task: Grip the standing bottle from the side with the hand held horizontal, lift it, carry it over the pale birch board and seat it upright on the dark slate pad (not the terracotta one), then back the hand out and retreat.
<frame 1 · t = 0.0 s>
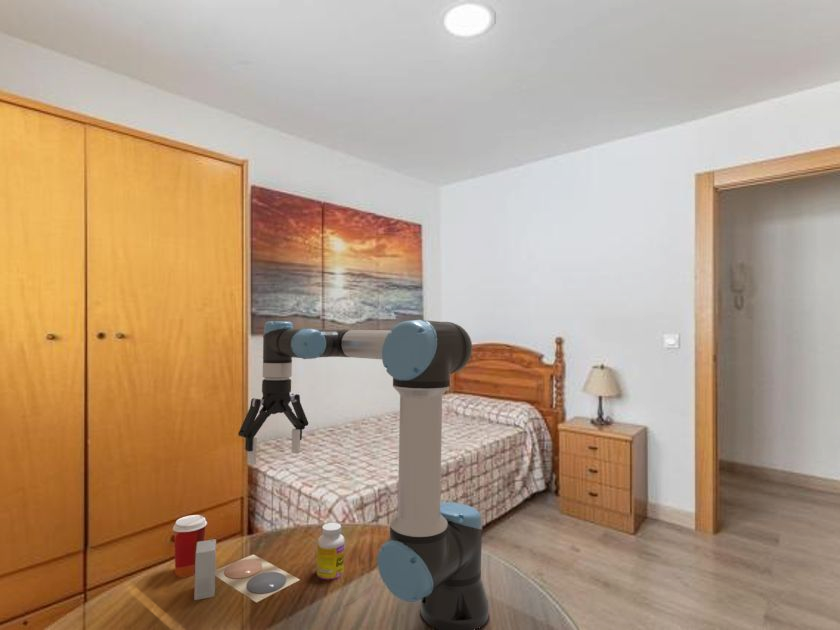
hand: (274, 458, 121), 28 cm above the table, tool pointing down, fingers open, 13 cm apart
birch board: (254, 582, 111), on the table
paper cup: (187, 577, 113), on the table
terracotta pad: (243, 569, 115), resting on birch board
skincare box: (204, 599, 104), on the table
slate pad: (266, 583, 108), resting on birch board
supplement bottle: (330, 579, 114), on the table
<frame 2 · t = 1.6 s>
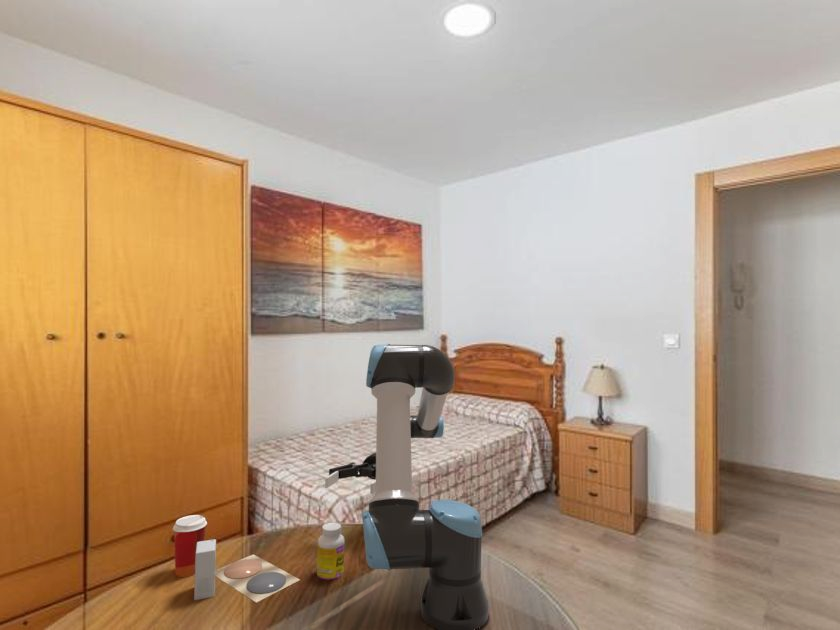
hand: (348, 485, 124), 20 cm above the table, tool horizontal, fingers open, 13 cm apart
nothing on the table moved.
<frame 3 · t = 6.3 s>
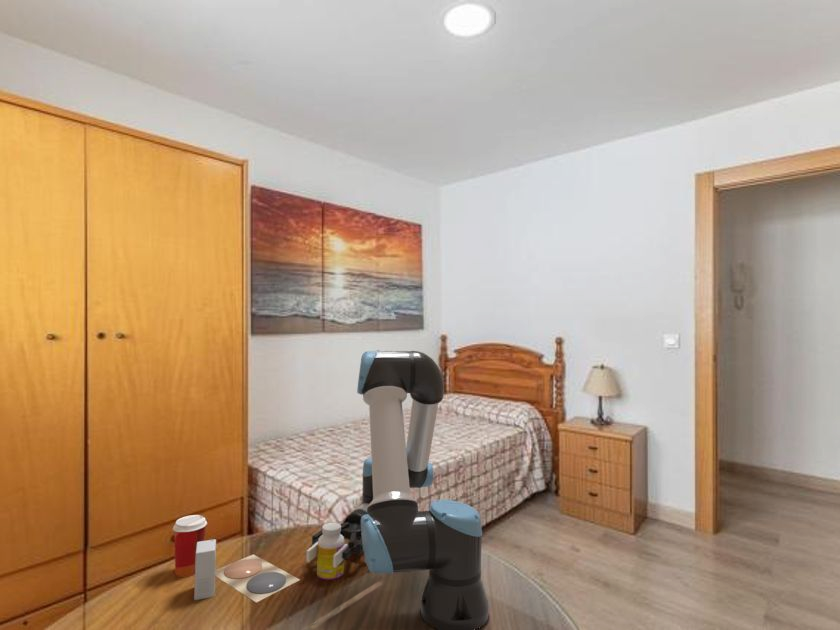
hand: (321, 559, 109), 7 cm above the table, tool horizontal, fingers closed on supplement bottle, 7 cm apart
supplement bottle: (330, 579, 114), on the table, touching gripper
everything else where it was.
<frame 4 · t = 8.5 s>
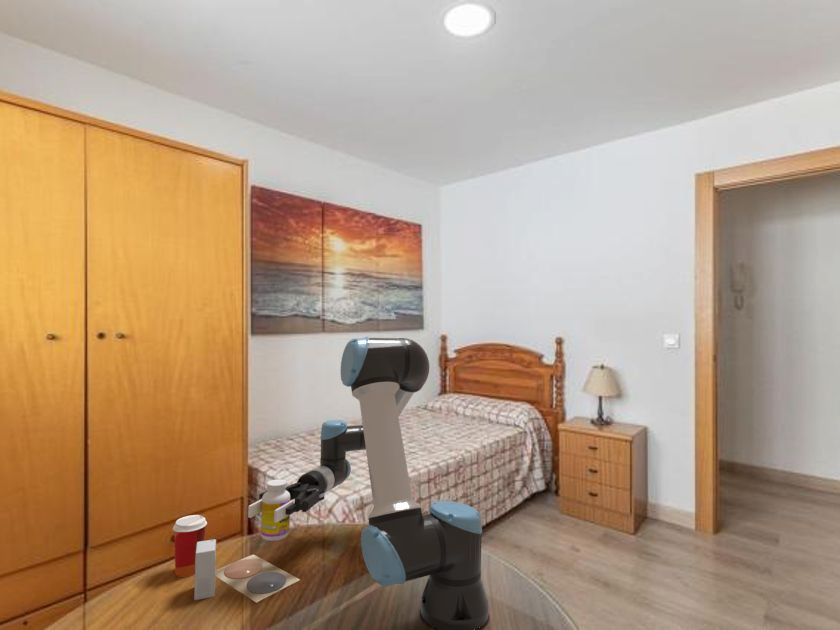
hand: (262, 514, 106), 19 cm above the table, tool horizontal, fingers closed on supplement bottle, 7 cm apart
supplement bottle: (275, 536, 110), point 12 cm above the table, touching gripper
everything else where it was.
when the fingers open (10 cm above the table, at t = 10.7 s): supplement bottle drops 1 cm, resting on slate pad.
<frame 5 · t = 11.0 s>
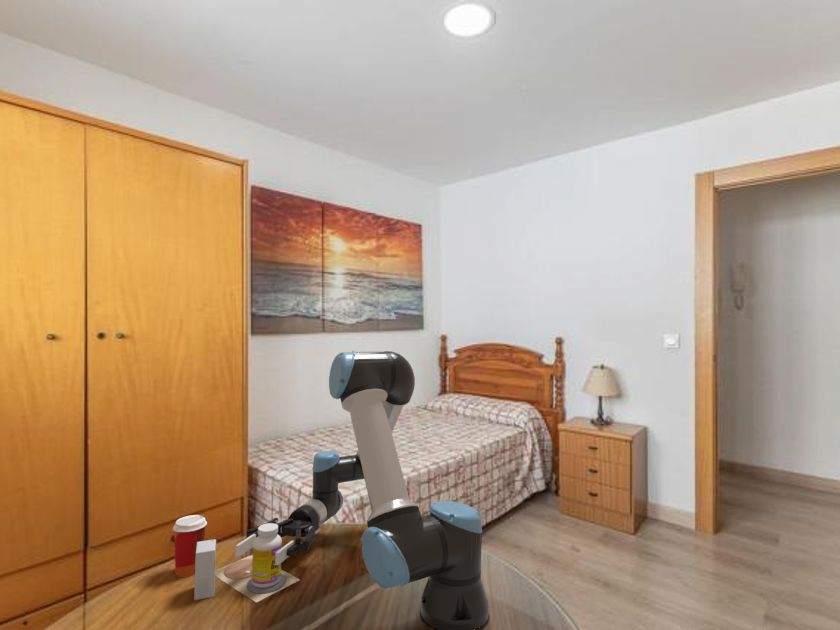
hand: (256, 555, 105), 10 cm above the table, tool horizontal, fingers open, 10 cm apart
supplement bottle: (266, 582, 109), point 2 cm above the table, touching slate pad
everything else where it was.
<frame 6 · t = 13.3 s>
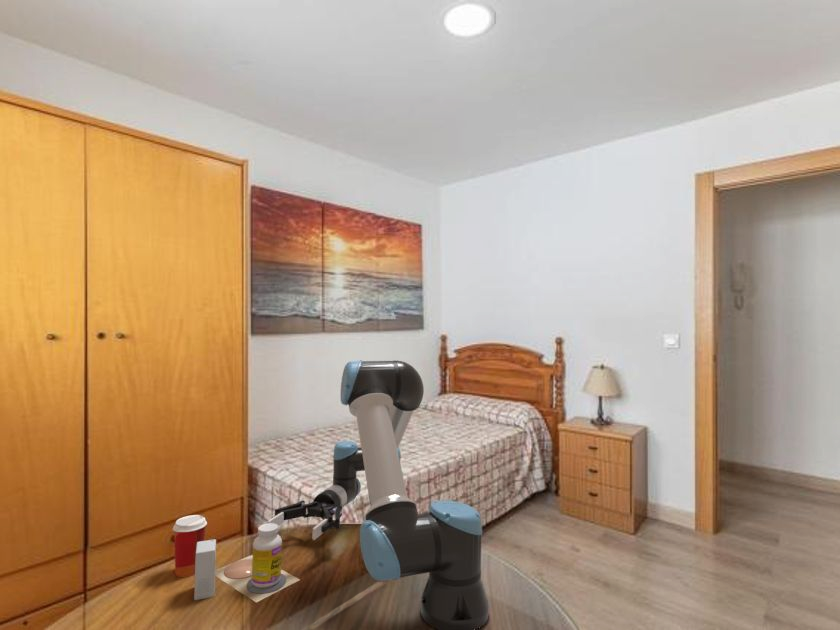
hand: (290, 530, 118), 10 cm above the table, tool horizontal, fingers open, 13 cm apart
nothing on the table moved.
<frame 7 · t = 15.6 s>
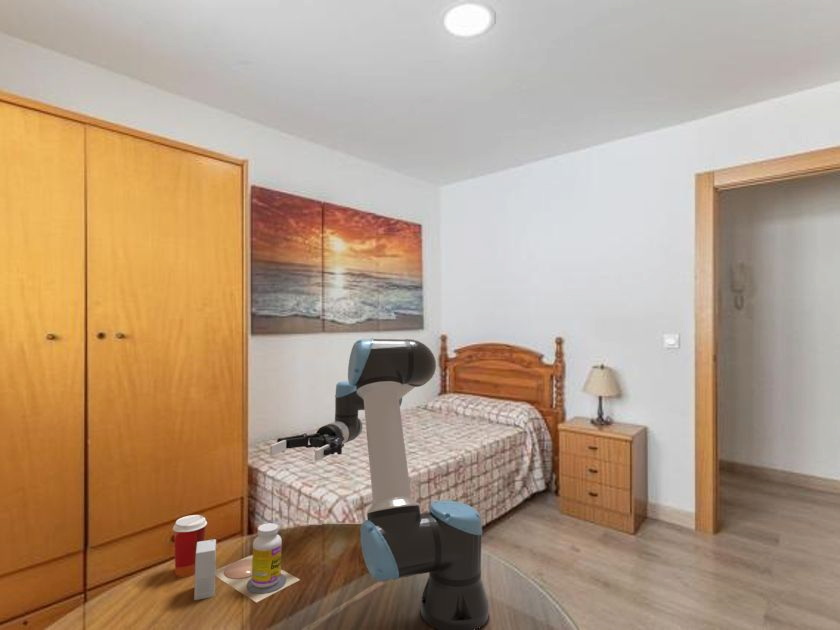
hand: (292, 453, 119), 30 cm above the table, tool horizontal, fingers open, 13 cm apart
nothing on the table moved.
at the end: supplement bottle 0.2 cm from the slate pad (horizontally); supplement bottle tilted 0°; the gripper is holding nothing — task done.
